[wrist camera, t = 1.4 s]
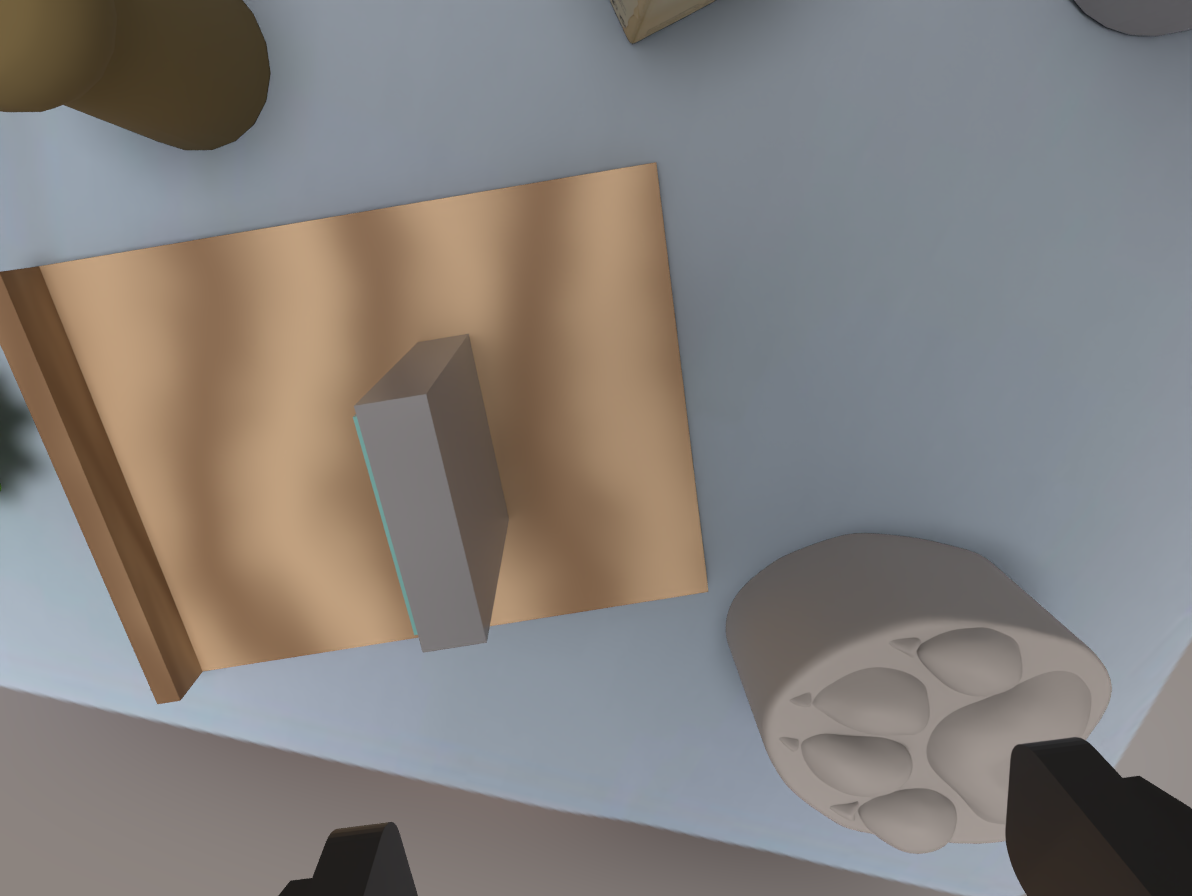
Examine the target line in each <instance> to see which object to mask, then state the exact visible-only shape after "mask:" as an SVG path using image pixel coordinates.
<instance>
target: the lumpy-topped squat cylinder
mask: <svg viewBox="0 0 1192 896" xmlns="http://www.w3.org/2000/svg"><path fill="white" fill-rule="evenodd" d="M726 637H727V641H728V645H729V648H730V651H731V653H732V656H733V659H734V662H735V665H736V667H737V670H738V673H739V676H740V679H741V681H742V684H743V687H744V690H745V693H746V696H747V698H748V701H749V704H750V707H751V709H752V712H753V715H754V718H755V721H756V724H757V726H758V729H759V732H760V735H761V738H762V740H763V743H764V746H765V749H766V751H767V753H768V756H769V758H770V760H771V762H772V763H773V765H774V767H775V769H776V770H777V772H778V774H779V775H780V777H781V778H782V780H783V781H784V782H785V784H786V785H787V786H788V787H789V788H790V789H791V790H792V791H793V792H794V793H795V794H796V795H797V796H799V797H800V798H801V799H802V800H803V801H805V802H806V803H807V804H809V805H810V806H811V807H813V808H814V809H816V810H817V811H819V812H820V813H822V814H823V815H825V816H826V817H828V818H829V819H831V820H832V821H834V822H836V823H837V824H839V825H841V826H843V827H846V828H849V829H853V830H857V831H860V832H866V833H871V834H875V835H876V836H877V837H879V838H880V839H881V840H883V841H884V842H886V843H887V844H889V845H891V846H893V847H895V848H896V849H899V850H901V851H904V852H908V853H915V854H922V853H928V852H932V851H935V850H938V849H940V848H942V847H944V846H945V845H946V844H947V843H948V842H949V843H972V844H980V843H993V842H1002V841H1006V838H1005V828H1006V814H1007V800H1008V786H1009V772H1010V758H1011V752H1012V749H1013V748H1014V746H1016V745H1017V744H1024V743H1032V742H1040V741H1048V740H1056V739H1064V738H1071V737H1079V738H1082V739H1084V740H1086V739H1087V738H1088V736H1089V735H1090V734H1091V732H1092V731H1093V729H1094V728H1095V726H1096V725H1097V724H1098V722H1099V721H1100V719H1101V718H1102V716H1103V714H1104V712H1105V710H1106V708H1107V706H1108V704H1109V701H1110V697H1111V692H1112V686H1111V680H1110V677H1109V674H1108V672H1107V670H1106V668H1105V666H1104V665H1103V663H1102V662H1101V660H1100V659H1099V658H1098V657H1097V655H1096V654H1095V653H1094V652H1093V651H1092V650H1091V649H1090V648H1089V647H1088V646H1087V645H1086V644H1084V643H1083V642H1082V641H1081V640H1080V639H1079V638H1077V637H1076V636H1075V635H1074V634H1073V633H1072V632H1070V631H1069V630H1068V629H1067V628H1066V627H1065V626H1064V625H1063V624H1061V623H1060V622H1059V621H1058V620H1057V619H1056V618H1055V617H1053V616H1052V615H1051V614H1050V613H1049V612H1048V611H1047V610H1045V609H1044V608H1043V607H1042V606H1041V605H1040V604H1039V603H1037V602H1036V601H1035V600H1034V599H1033V598H1032V597H1030V596H1029V595H1028V594H1027V593H1026V592H1025V591H1024V590H1022V589H1021V588H1020V587H1019V586H1018V585H1017V584H1016V583H1014V582H1013V581H1012V580H1011V579H1010V578H1009V577H1008V576H1006V575H1005V574H1004V573H1003V572H1002V571H1001V570H1000V569H998V568H997V567H996V566H995V565H994V564H993V563H992V562H990V561H989V560H988V559H986V558H985V557H983V556H981V555H979V554H977V553H975V552H972V551H969V550H966V549H962V548H959V547H954V546H950V545H946V544H942V543H938V542H934V541H930V540H925V539H919V538H913V537H905V536H897V535H888V534H875V533H854V534H847V535H842V536H838V537H835V538H831V539H828V540H825V541H822V542H819V543H816V544H813V545H810V546H807V547H804V548H802V549H799V550H797V551H794V552H792V553H790V554H788V555H785V556H783V557H782V558H780V559H778V560H776V561H775V562H773V563H772V564H770V565H769V566H767V567H766V568H765V569H763V570H762V571H761V572H759V573H758V574H757V575H756V576H754V577H753V578H752V579H751V580H750V581H749V582H748V583H747V584H746V585H745V586H744V587H743V588H742V589H741V590H740V591H739V593H738V594H737V595H736V597H735V598H734V600H733V602H732V604H731V606H730V609H729V611H728V615H727V620H726Z"/></svg>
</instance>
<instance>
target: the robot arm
mask: <svg viewBox="0 0 1192 896" xmlns="http://www.w3.org/2000/svg"><path fill="white" fill-rule="evenodd" d="M1074 1H1075V2H1076V3H1077V4H1078V5H1079V7H1080V8H1081V9H1082V10H1083V11H1084V12H1085V13H1086V14H1087V15H1089V16H1090V17H1092V18H1093V19H1095V20H1096V21H1098V22H1099V23H1101V24H1102V25H1104V26H1105V27H1107V28H1111V29H1114V30H1117V31H1120V32H1123V33H1126V34H1129V35H1141V36H1160V35H1165V34H1171V33H1176V32H1182V31H1186V30H1190V29H1192V0H1074ZM1005 838H1006V845H1007V850H1008V854H1009V858H1010V861H1011V864H1012V867H1013V869H1014V872H1015V874H1016V876H1017V878H1018V880H1019V882H1020V884H1021V886H1022V888H1023V890H1024V891H1025V893H1026V894H1027V896H1192V809H1191V808H1190V807H1189V806H1187V805H1186V804H1184V803H1182V802H1181V801H1179V800H1177V799H1176V798H1174V797H1173V796H1171V795H1169V794H1168V793H1166V792H1165V791H1163V790H1161V789H1160V788H1158V787H1157V786H1155V785H1153V784H1152V783H1150V782H1149V781H1147V780H1145V779H1144V778H1142V777H1140V776H1135V777H1127V778H1122V777H1121V776H1120V775H1119V774H1118V773H1117V772H1116V771H1115V769H1114V768H1113V767H1112V766H1111V765H1110V764H1109V763H1108V762H1107V761H1106V760H1105V759H1104V758H1103V757H1102V756H1101V754H1100V753H1099V752H1098V751H1097V750H1096V749H1095V748H1094V747H1093V746H1092V745H1091V744H1090V743H1088V742H1087V741H1086V740H1084V739H1082V738H1079V737H1071V738H1064V739H1056V740H1048V741H1040V742H1032V743H1024V744H1017V745H1016V746H1014V748H1013V749H1012V752H1011V758H1010V772H1009V786H1008V800H1007V814H1006V828H1005ZM279 896H418V895H417V891H416V888H415V884H414V881H413V878H412V874H411V871H410V867H409V864H408V860H407V857H406V854H405V850H404V847H403V843H402V840H401V837H400V833H399V830H398V828H397V826H396V825H395V824H394V823H393V822H388V823H381V824H372V825H364V826H356V827H349V828H341V829H336V830H334V831H333V832H332V833H331V834H330V835H329V837H328V839H327V841H326V843H325V846H324V849H323V851H322V854H321V857H320V859H319V862H318V864H317V867H316V870H315V872H314V875H313V878H309V879H301V880H293V881H290V882H289V883H288V884H287V886H286V887H285V888H284V889H283V891H282V892H281V893H280V895H279Z"/></svg>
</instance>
